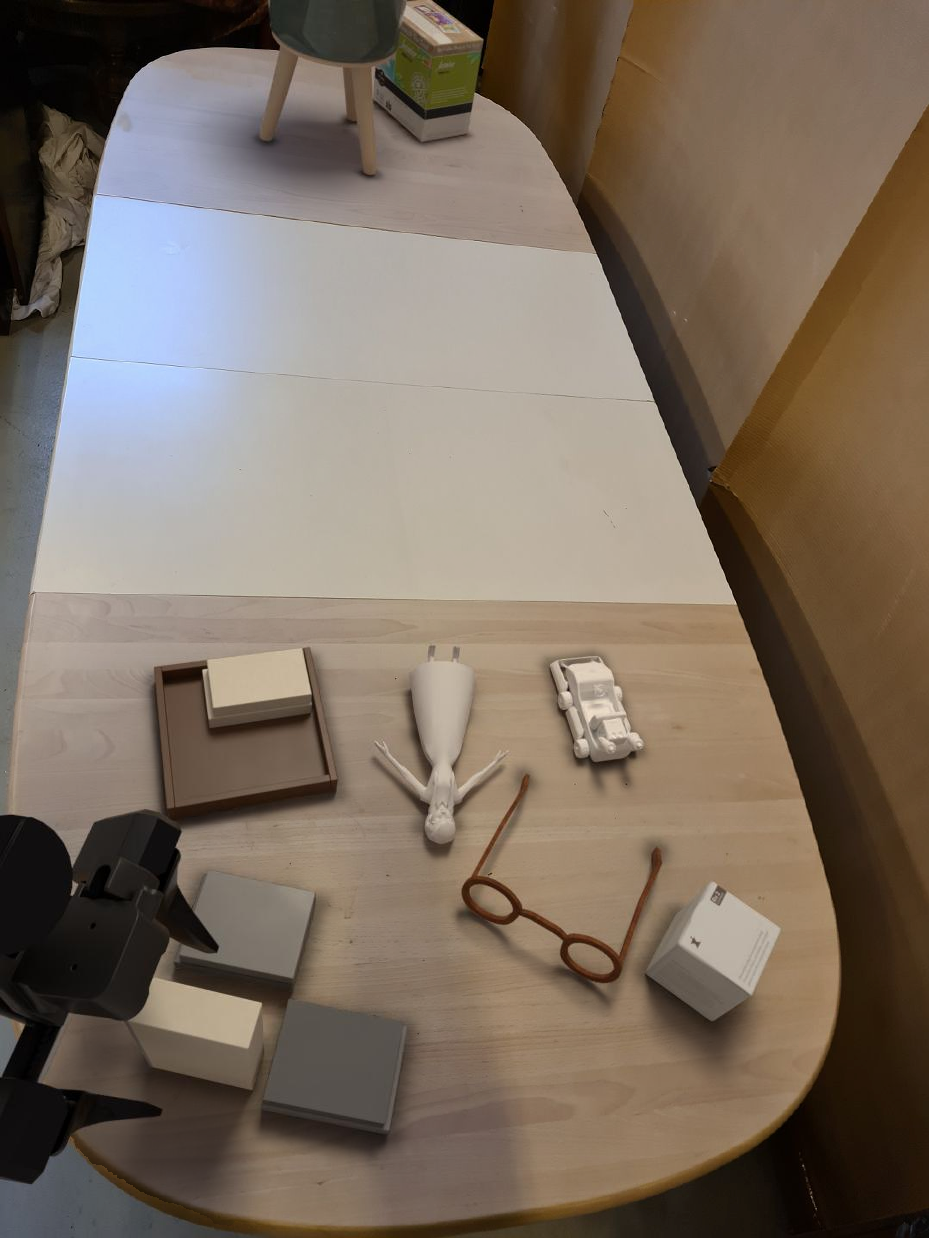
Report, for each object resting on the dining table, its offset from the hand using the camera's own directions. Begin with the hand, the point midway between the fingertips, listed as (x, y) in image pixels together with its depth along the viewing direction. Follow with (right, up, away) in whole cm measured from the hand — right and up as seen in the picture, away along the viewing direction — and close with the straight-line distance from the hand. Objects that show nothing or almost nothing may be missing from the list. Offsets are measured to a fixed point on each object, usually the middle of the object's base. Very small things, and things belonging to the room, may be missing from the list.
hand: (187, 1027), depth 53 cm
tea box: (+9, +108, +95) cm, 144 cm away
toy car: (+28, +16, +29) cm, 43 cm away
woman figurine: (+14, +13, +24) cm, 31 cm away
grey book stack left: (+1, +1, +12) cm, 12 cm away
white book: (-1, -5, +7) cm, 8 cm away
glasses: (+25, +3, +19) cm, 31 cm away
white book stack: (-1, +18, +23) cm, 29 cm away
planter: (-4, +98, +85) cm, 130 cm away
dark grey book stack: (+8, -6, +8) cm, 13 cm away
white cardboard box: (+35, -3, +16) cm, 38 cm away
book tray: (-2, +15, +21) cm, 26 cm away
